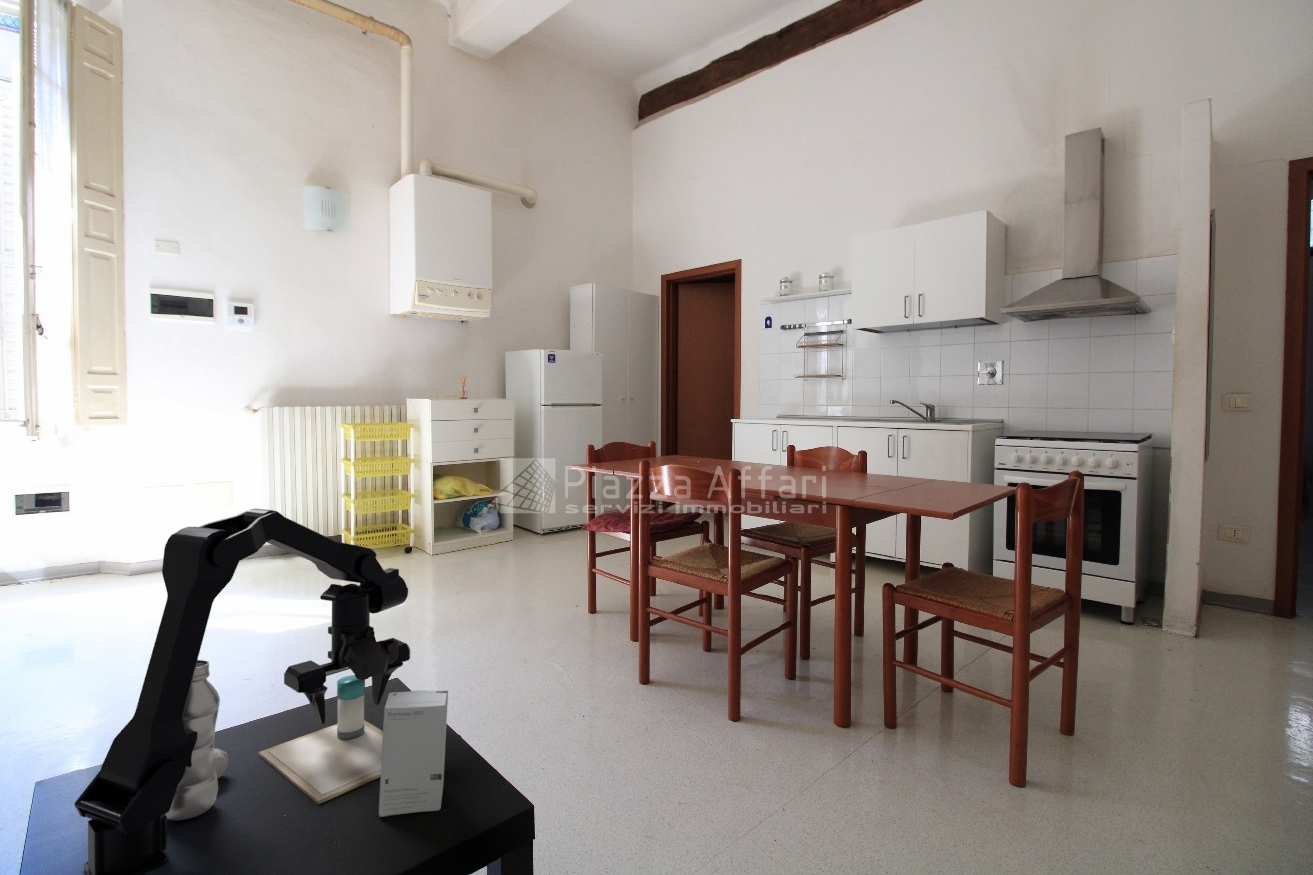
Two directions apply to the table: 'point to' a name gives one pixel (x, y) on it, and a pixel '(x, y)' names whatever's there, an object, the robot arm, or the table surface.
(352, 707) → the cylinder
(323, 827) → the table surface
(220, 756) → the garlic
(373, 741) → the picture frame
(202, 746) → the plastic bottle
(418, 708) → the skincare box
